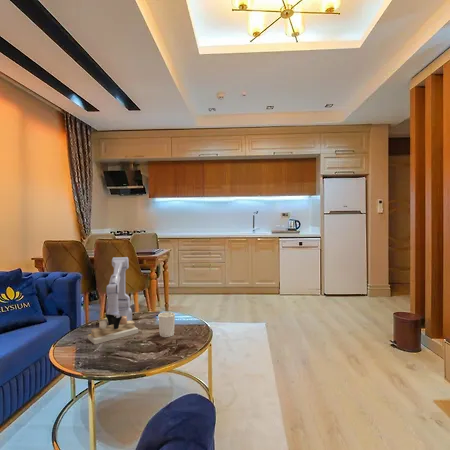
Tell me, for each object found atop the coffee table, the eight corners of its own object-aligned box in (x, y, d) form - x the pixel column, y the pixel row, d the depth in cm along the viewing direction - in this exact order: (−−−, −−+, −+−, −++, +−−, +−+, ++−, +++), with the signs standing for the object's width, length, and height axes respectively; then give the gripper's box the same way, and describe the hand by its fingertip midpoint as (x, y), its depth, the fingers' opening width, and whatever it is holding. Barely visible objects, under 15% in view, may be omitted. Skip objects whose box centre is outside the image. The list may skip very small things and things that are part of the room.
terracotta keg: (125, 321, 194) (125, 315, 194) (128, 323, 191) (128, 316, 191) (118, 323, 191) (118, 316, 191) (121, 324, 188) (121, 318, 188)
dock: (130, 328, 200) (130, 323, 200) (138, 332, 191) (138, 328, 191) (87, 338, 182) (87, 334, 182) (94, 344, 174) (94, 339, 174)
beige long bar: (131, 325, 197) (131, 320, 197) (134, 327, 193) (134, 322, 193) (91, 335, 181) (91, 329, 181) (94, 338, 177) (94, 331, 177)
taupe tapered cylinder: (105, 326, 186) (105, 319, 185) (108, 328, 183) (107, 321, 183) (98, 328, 183) (98, 321, 183) (101, 329, 180) (100, 322, 180)
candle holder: (177, 331, 192) (176, 312, 192) (172, 337, 182) (172, 317, 182) (161, 331, 193) (161, 311, 193) (156, 337, 183) (155, 317, 183)
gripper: (101, 303, 189) (102, 325, 190) (111, 308, 178) (111, 331, 179) (113, 300, 194) (113, 322, 194) (123, 305, 183) (123, 328, 183)
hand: (113, 327), depth 187 cm, fingers open, 7 cm apart
